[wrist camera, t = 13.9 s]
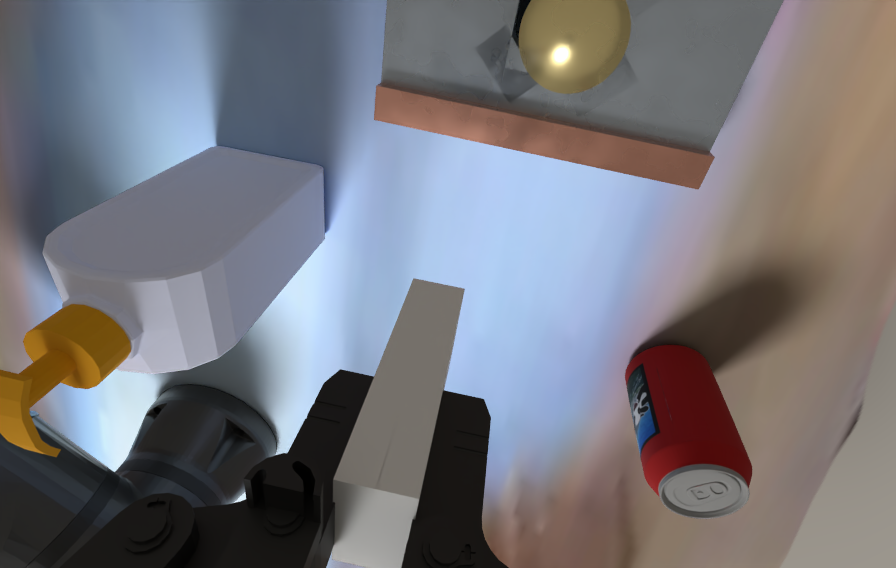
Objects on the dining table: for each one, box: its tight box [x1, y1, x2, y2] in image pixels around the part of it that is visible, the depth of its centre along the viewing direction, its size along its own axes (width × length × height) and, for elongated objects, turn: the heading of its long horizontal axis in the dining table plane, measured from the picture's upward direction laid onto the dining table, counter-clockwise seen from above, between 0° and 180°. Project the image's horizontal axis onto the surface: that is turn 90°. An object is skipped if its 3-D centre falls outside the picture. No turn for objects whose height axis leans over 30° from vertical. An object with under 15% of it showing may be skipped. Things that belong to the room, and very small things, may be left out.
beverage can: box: [625, 345, 752, 519], centre depth 35 cm, size 7×7×12 cm
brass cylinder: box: [519, 0, 631, 94], centre depth 24 cm, size 4×4×10 cm
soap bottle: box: [0, 146, 325, 457], centre depth 28 cm, size 9×7×23 cm
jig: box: [374, 0, 784, 189], centre depth 26 cm, size 20×14×4 cm
